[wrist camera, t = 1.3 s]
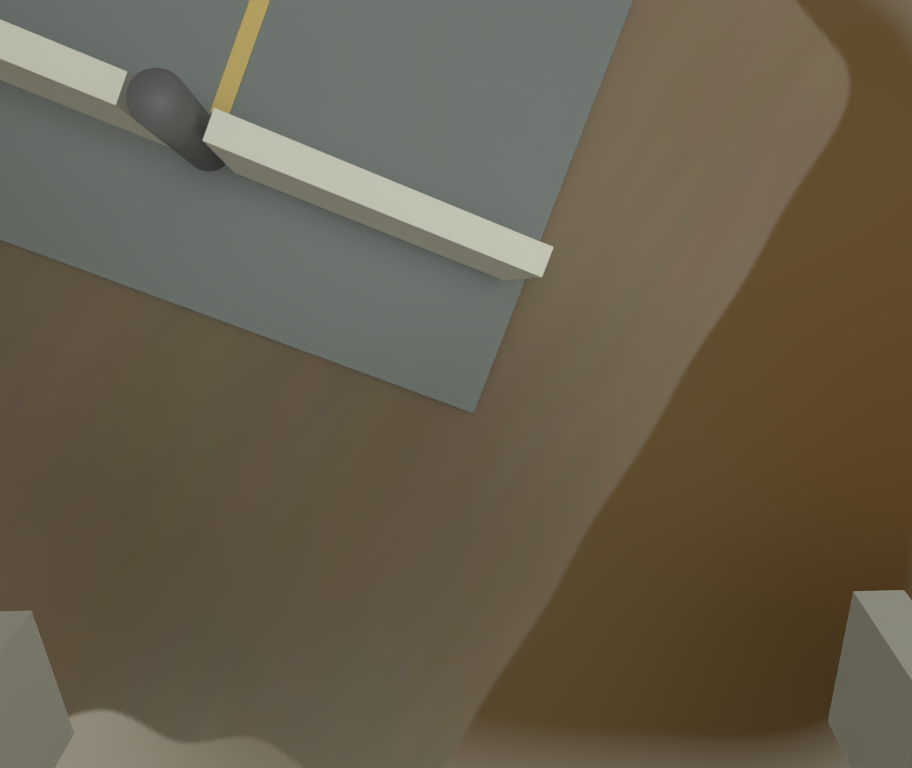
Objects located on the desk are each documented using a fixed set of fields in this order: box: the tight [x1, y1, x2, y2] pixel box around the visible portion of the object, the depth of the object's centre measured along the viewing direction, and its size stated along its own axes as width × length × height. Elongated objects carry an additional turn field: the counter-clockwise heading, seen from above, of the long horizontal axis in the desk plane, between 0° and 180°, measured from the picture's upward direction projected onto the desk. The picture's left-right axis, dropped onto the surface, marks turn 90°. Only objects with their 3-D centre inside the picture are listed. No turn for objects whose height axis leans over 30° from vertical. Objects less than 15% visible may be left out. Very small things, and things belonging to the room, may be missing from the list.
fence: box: [0, 19, 225, 171], centre depth 30 cm, size 12×2×9 cm, turn 69°
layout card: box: [0, 0, 633, 414], centre depth 35 cm, size 27×22×1 cm
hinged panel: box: [202, 108, 553, 280], centre depth 32 cm, size 13×1×8 cm, turn 69°
